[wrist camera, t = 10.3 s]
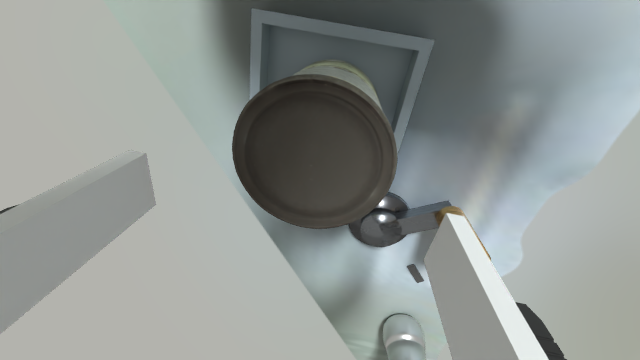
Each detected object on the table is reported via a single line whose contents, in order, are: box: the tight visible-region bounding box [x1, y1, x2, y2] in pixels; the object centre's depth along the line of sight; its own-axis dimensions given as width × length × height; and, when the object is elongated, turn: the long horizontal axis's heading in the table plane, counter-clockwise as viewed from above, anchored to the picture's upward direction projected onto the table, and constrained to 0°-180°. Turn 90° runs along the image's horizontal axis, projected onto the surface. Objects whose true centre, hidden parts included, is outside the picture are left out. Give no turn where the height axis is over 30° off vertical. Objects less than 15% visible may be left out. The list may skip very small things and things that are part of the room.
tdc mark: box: [407, 264, 424, 283], centre depth 39 cm, size 4×1×1 cm, turn 33°
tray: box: [249, 8, 435, 155], centre depth 28 cm, size 16×16×3 cm
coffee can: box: [232, 59, 397, 229], centre depth 22 cm, size 10×10×14 cm
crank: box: [360, 201, 491, 261], centre depth 29 cm, size 12×5×8 cm, turn 111°
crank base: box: [349, 192, 409, 245], centre depth 35 cm, size 8×8×1 cm
